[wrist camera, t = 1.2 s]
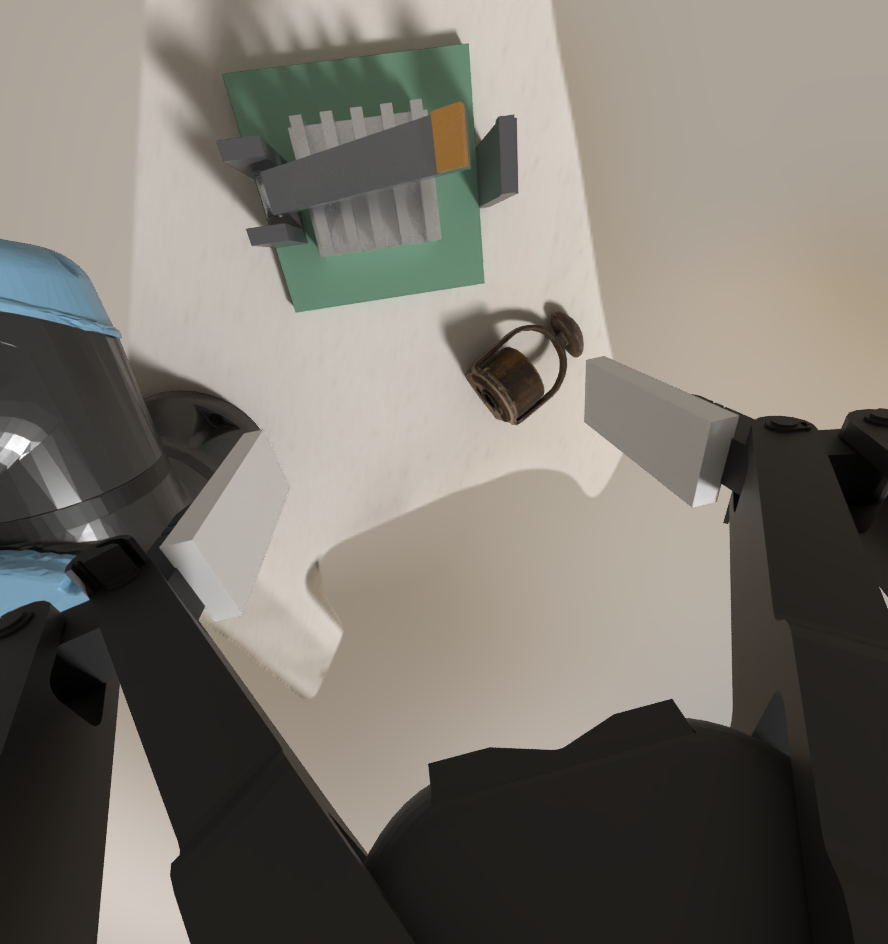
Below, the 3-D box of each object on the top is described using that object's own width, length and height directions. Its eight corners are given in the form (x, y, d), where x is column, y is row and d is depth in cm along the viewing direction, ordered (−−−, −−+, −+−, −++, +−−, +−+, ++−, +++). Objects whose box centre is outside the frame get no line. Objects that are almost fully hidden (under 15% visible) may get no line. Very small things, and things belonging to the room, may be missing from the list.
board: (298, 310, 36) (295, 312, 35) (228, 80, 28) (222, 73, 27) (481, 282, 37) (484, 283, 36) (465, 51, 29) (468, 43, 28)
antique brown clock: (458, 338, 34) (482, 441, 37) (600, 300, 33) (612, 410, 36) (457, 338, 41) (477, 426, 44) (574, 307, 40) (586, 399, 43)
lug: (474, 209, 34) (501, 194, 26) (470, 152, 32) (498, 116, 24) (489, 206, 34) (521, 191, 26) (486, 149, 32) (520, 113, 24)
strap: (275, 218, 27) (260, 219, 26) (262, 173, 26) (246, 172, 25) (475, 170, 20) (465, 167, 19) (470, 104, 19) (459, 98, 18)
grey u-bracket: (278, 247, 32) (251, 245, 26) (252, 165, 30) (216, 140, 23) (308, 243, 32) (289, 240, 26) (286, 161, 30) (258, 135, 23)
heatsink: (326, 257, 33) (316, 257, 29) (296, 139, 29) (279, 117, 24) (437, 240, 34) (445, 238, 29) (423, 122, 30) (430, 97, 25)
